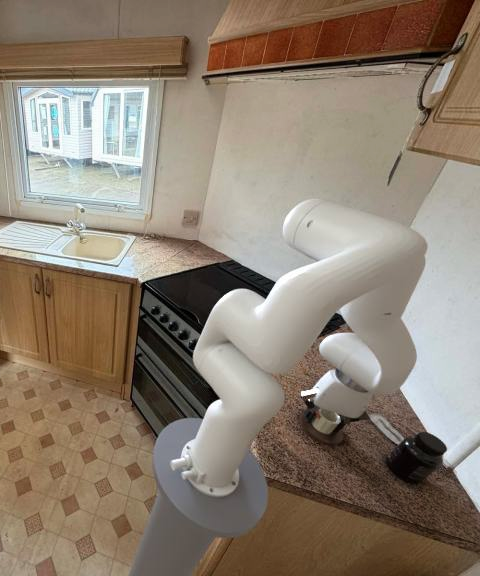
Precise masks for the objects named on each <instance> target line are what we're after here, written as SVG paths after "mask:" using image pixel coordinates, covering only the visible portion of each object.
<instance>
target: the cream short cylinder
mask: <svg viewBox="0 0 480 576" xmlns="http://www.w3.org/2000/svg"><path fill="white" fill-rule="evenodd" d="M311 422H312V425H313V426H314V427H315V428H316V429H317V430H318V431H320V432H322V433H325V434H331V433H332V432H333V431H334V429H335V428H336V427H337V426H338V425H339V423H340V422H341V419H340V417H339V414H338V413H334V412H332V411H329V410H326V409H323V408H321V409H319V410H317V412H316V415H315V416H314V418H313V419H312V421H311Z"/></svg>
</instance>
